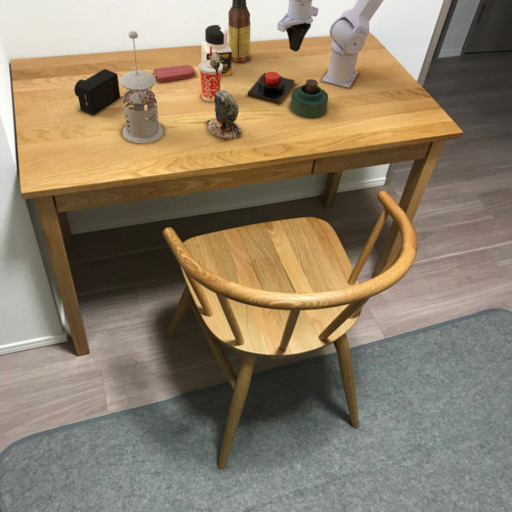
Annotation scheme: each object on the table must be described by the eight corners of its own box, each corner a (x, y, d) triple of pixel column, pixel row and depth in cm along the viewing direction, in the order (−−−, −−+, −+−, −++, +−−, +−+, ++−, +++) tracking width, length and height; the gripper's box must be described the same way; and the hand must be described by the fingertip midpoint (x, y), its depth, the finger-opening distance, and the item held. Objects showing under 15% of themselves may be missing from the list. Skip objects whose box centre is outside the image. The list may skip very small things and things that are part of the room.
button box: (264, 76, 159) (264, 66, 157) (294, 84, 157) (295, 74, 155) (247, 96, 151) (248, 86, 149) (278, 104, 149) (279, 94, 147)
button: (267, 76, 154) (268, 70, 153) (281, 79, 153) (282, 73, 152) (262, 82, 151) (262, 76, 150) (276, 86, 150) (276, 80, 149)
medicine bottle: (206, 76, 157) (206, 34, 148) (201, 64, 162) (200, 23, 153) (231, 74, 159) (232, 33, 150) (225, 62, 163) (226, 21, 155)
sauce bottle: (250, 54, 167) (254, -15, 153) (248, 64, 163) (252, -6, 149) (228, 52, 168) (230, -18, 153) (226, 62, 163) (227, -9, 149)
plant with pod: (211, 147, 135) (212, 69, 120) (205, 120, 142) (204, 44, 128) (245, 144, 136) (249, 67, 122) (236, 118, 144) (239, 43, 129)
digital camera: (104, 91, 149) (100, 66, 144) (120, 97, 147) (117, 73, 142) (76, 108, 142) (71, 83, 137) (93, 115, 141) (88, 90, 136)
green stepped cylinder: (297, 95, 153) (299, 77, 149) (330, 104, 151) (333, 85, 147) (285, 112, 147) (287, 93, 143) (319, 122, 145) (322, 103, 141)
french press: (117, 140, 134) (102, 39, 116) (131, 114, 142) (119, 15, 124) (157, 145, 134) (149, 44, 116) (169, 119, 142) (163, 20, 124)
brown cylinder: (305, 102, 150) (308, 78, 145) (315, 105, 149) (319, 80, 144) (301, 107, 148) (304, 83, 143) (312, 110, 147) (315, 86, 142)
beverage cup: (194, 98, 149) (193, 48, 139) (206, 88, 153) (206, 38, 142) (214, 105, 147) (215, 55, 137) (226, 95, 151) (227, 45, 141)
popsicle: (138, 70, 154) (191, 63, 158) (138, 75, 155) (191, 68, 160) (142, 80, 151) (196, 72, 155) (143, 85, 152) (196, 77, 156)
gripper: (296, 10, 133) (289, 64, 143) (330, -6, 141) (322, 46, 151) (272, 1, 136) (268, 54, 146) (308, -15, 144) (301, 37, 154)
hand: (294, 49), depth 149 cm, fingers closed
